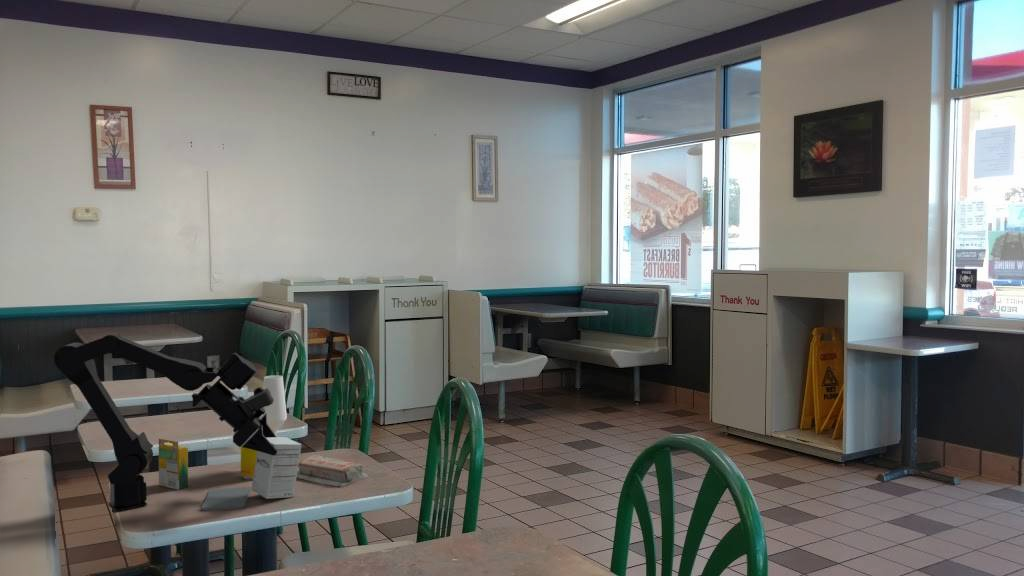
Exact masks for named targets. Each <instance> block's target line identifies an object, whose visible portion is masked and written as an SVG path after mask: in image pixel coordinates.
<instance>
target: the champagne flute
mask: <svg viewBox="0 0 1024 576" xmlns="http://www.w3.org/2000/svg"><path fill="white" fill-rule="evenodd" d="M284 386H285V383H284V377H283V375H279V374H278V375H275V374H274V375H266V376H263V386H262V388H263V389H264V390H265V389H266V388H267V389H268V390H269V391H270V394H271V396H272V398H273V400H274V401H273V403H272V404H271V405H269V406H265V407H263V409H265V410H266V411H265V413H264V414H262V415H261V416H262V417H263V416H264V415H265V414H266V413H267V424H268V425H269V427H270V428H271V430H272V431H273V433H274V434H275V436H276V437H277V431H278V430H279V429H280V428H281V427H282V426H283V425H284V424H285V423H286V420H287V419H288V416H287V407H286V396H285V387H284Z"/></svg>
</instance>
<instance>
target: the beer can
mask: <svg viewBox="0 0 1024 576" xmlns="http://www.w3.org/2000/svg"><path fill="white" fill-rule="evenodd" d="M261 417H262V416H261ZM257 452H258V451H256V450H252V449H248V448H243V447H242V446H241V447H240V476H242V478H243V479H244V480H253V477H254V470H255V464H256V458H257Z"/></svg>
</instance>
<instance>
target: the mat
mask: <svg viewBox="0 0 1024 576" xmlns="http://www.w3.org/2000/svg"><path fill="white" fill-rule="evenodd" d="M250 491H251V486H246V487H245V486H244V487H224V488H211V489H209V491H208V493H207V495H206V497H205V500H204V502H203V504H202V506H201V507H200V511H201V512H202V511H204V512H205V511H220V510H231V509H232V510H233V509H234V510H235V509H245V506H246V503H247V500H248V497H249V494H250Z"/></svg>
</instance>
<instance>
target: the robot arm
mask: <svg viewBox="0 0 1024 576" xmlns="http://www.w3.org/2000/svg"><path fill="white" fill-rule="evenodd" d="M107 354H112V355H115V356H116V357H119V358H122V359H124V360H127V361H130V362H132V363H135V364H136V365H139V366H142V367H145V368H146V369H149V370H151V371H154V372H156V373H159V374H161V375H163V376H164V377H166V378H167V379H168V380H169V381H170V382H171V383H173V384H175V385H176V386H178V387H179V388H181V389H183V390H185V391H188V392H193V391H196V390H198V389H200V388H202V389H201V390H200V391H199V392H194V393H192V395H191V399H192V403H191V404H192V407H194V408H195V407H196V406H198V405H199V403H200V402H202V403H203V404H204V405H205V406H207V407H208V408H209V409H210V410H211V411H212V412H214V413H215V414H216V415H218V417H219V418H218V420H219V421H220V422H223V421H224V422H225V423H226V424H228V425H229V426H230V427H231V428H232V429H233V430H232V432H234V433H233V435H232V443H233V444H235V445H236V446H237V447H238V448H241V446H242V447H243V448H248V449H252V450H256V451H260V452H263V453H266V454H270V455H273V456H274V455H276V454H277V451H276V449H275V448H274V447H273V446H272V444H271V443H270V442H269V441H268V440H267V438H266V437H277V435H276V436H275V434H274V433H273V431H272V430H271V428H270V427H269V425H268V424H267V413H266V414H265V415H264V416H263V417H261V415H262V414H264V413H265V411H266V410H265V409H263V407H265V406H269V405H271V404H272V403H273V401H274V400H273V398H272V396H271V394H270V391H269V390H268V389H267V388H266V389H265V390H264V389H263V387H261V386H259V387H257V388H255V389H254V390H253V395H250V396H249V397H247V398H246V399H245V398H244V397H243V396H237V395H236V394H234V392H232V391H234V390H236V389H237V390H242V388H244V387H245V385H246V384H247V383H248V382H250V381H251V379H252V378H254V376H255V375H256V374H258V372H259V371H258V369H257V367H255V366H254V364H253V363H252V362H250V361H249V359H245V358H244V357H243V356H241V355H239V354H238V353H237V352H234V353H232V355H230V357H229V359H227V361H226V362H225V363H224V364H223V365H222V366H221V367H211V366H206V365H204V364H203V363H202V362H199V361H194V360H191V359H190V360H189V359H185V358H179V357H173V356H169V355H167V354H164V353H163V352H160V351H157V350H155V349H152V348H150V347H147V346H145V345H143V344H140V343H137V342H136V341H132V340H130V339H128V338H126V337H124V336H122V335H120V334H119V333H110V334H106V335H105V336H103V337H101V338H98V339H95V340H92V341H89V342H86V343H82V342H72V343H69V344H66V345H63V346H61V347H59V348H58V349H57V350H56V352H55V353H54V356H53V358H52V359H53V364H54V366H55V368H56V369H57V370H58V371H60V373H61V375H63V376H64V377H65V378H66V379H67V380H68V381H70V383H72V384H74V385H75V386H76V387H77V388H78V390H79V391H80V393H81V394H82V395H83V397H84V399H85V401H86V402H87V403H88V405H89V406H90V409H91V410H92V411H93V413H94V415H95V416H96V418H97V419H98V421H99V422H100V424H101V426H102V428H103V429H104V431H105V432H106V434H107V435H108V436H109V438H110V440H111V442H112V447H113V452H114V457H115V459H116V461H117V465H116V466H115V467H114V468H113V469H112V471H110V473H109V474H107V478H108V481H109V497H110V499H109V501H110V502H109V501H108V502H107V505H108V506H109V507H110V508H111V509H112V508H113V509H112V510H113V511H115V512H121V511H125V510H131V509H135V508H136V509H137V508H140V507H145V506H147V505H148V503H147V499H148V498H147V483H146V481H145V478H144V477H145V476H143V475H142V473H143V472H144V471H145V469H146V468H147V467H148V466H149V465H150V463H151V462H152V460H153V456H154V451H153V449H152V448H153V447H154V444H152V443H151V442H150V441H149V440H148V437H147V435H146V433H145V432H144V431H142V432H141V433H139V434H138V433H136V432H135V431H134V430H132V428H130V426H129V424H128V422H127V421H126V419H125V418H124V416H123V415H122V412H120V410H119V408H118V406H117V405H116V403H115V402H114V400H113V398H112V397H111V396H110V393H109V392H108V391H107V389H106V387H105V386H104V384H103V383H102V381H101V379H100V378H99V376H98V371H97V367H96V366H97V365H96V363H95V359H96V358H99V357H102V356H105V355H107ZM217 377H219V378H218V380H216V381H215V383H213V382H214V380H215V379H216V378H217ZM208 383H213V385H211V384H208ZM204 384H205V386H204V387H202V386H203V385H204Z"/></svg>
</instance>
